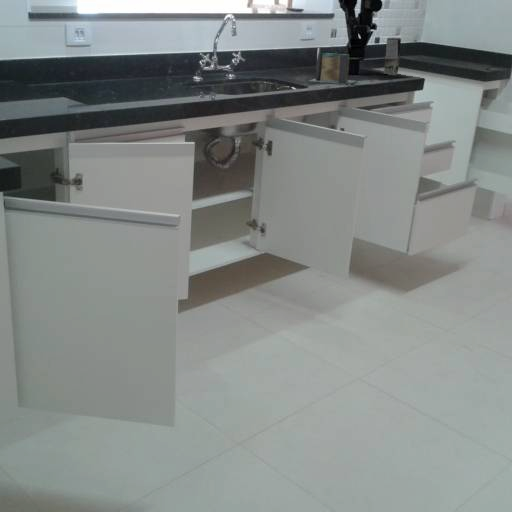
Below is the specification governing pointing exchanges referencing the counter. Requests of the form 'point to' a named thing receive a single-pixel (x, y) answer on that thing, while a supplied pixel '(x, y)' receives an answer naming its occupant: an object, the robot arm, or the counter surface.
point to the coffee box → (392, 56)
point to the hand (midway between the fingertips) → (363, 47)
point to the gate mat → (332, 81)
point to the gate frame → (342, 70)
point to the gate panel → (331, 66)
